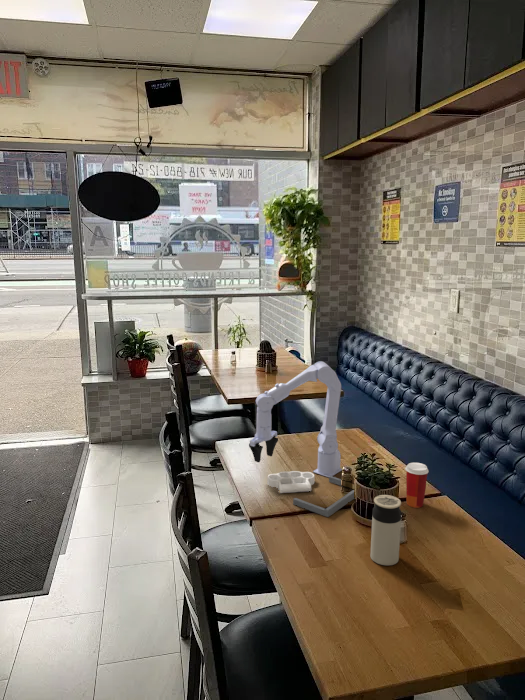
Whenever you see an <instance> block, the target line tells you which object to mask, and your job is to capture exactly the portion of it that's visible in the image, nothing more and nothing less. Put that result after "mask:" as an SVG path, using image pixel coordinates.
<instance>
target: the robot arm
mask: <svg viewBox="0 0 525 700" xmlns="http://www.w3.org/2000/svg"><path fill="white" fill-rule="evenodd" d="M317 379H318V380H317ZM318 381H319V382H320V383H323V384H324V385H326V387H327V390H326V399H325V406H324V415H323V422H322V426H321V427H320V432H319V433H318V434H317V437H316V438H317V439H316V440H317V443H318V444H319V447H318V448H317V467H316V469H314V470H313V471H312V473H313V474H314V473H315V474H318V475H320V476H324V477H326V478H329V477H330V476H333V477H334V476H335V475H336V474H338V473H340V472H341V471H343V469H342V468H341V455H342V454H341V452H340V450H339V443H338V440H337V439H338V434H337V422H338V421H337V420H338V414H339V406H340V399H341V393H342V383H341V380H340V379H339V378H338V375H337V373H336V371H335V370H334V369H332V368H331V366H330V365H328V364H327V363H326V362H324V361H322V360H320V361H317V362H315V363H314V364H312V365H309V366H308V367H307V368H306V369H305V370H302V372H300V373H299V374H297V375H296V376H295V377H293V378H292V379H290V380H288V381H287V382H286V383H285V382H284V383H283V382H280V383H276V384H275V385H274V387H272V388H270V389H269V390H265V391H264V393H260V394H259V395H257V397H256V399H255V404H256V406H257V407H256V433H254V437H253V438H252V439H251V440H249V443H248V447H249V448H250V451H251V452H252V455H253V460H254V462H257V463H260V462H261V459H262V451H263V449H264V446H263V445H261V444H260V443H263V442H265V447H266V448H265V449H266V456H268V457H273V454H274V450H275V448H276V445H277V443H278V442H279V438H278V431H276V430H272V409H273V407H274V405H277V404H279V402H281V401H282V400H284V399H286V398H287V397H289V396H290V393H291V391H293V390H295V389H297V388H298V387H300V386H301V385H303V384H305V383H307V382H315V383H317V382H318Z"/></svg>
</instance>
